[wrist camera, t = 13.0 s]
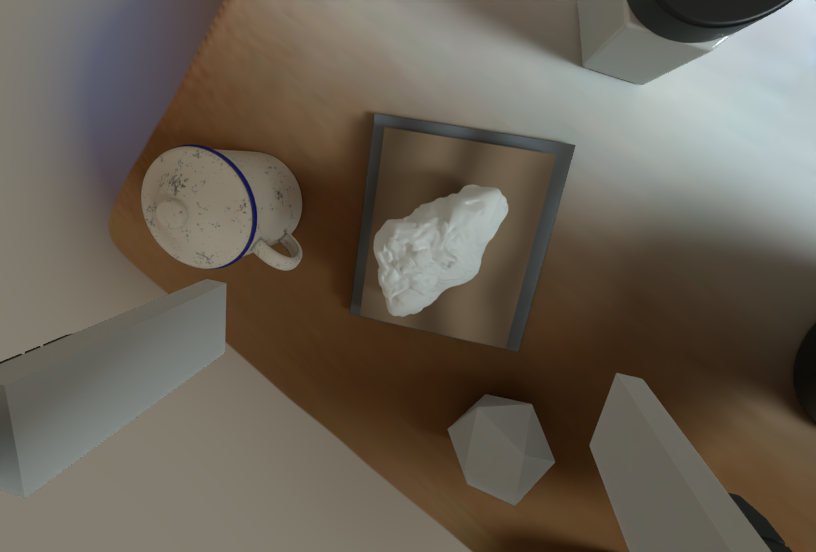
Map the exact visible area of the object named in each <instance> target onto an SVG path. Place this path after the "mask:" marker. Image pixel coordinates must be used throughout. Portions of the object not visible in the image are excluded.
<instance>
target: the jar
mask: <svg viewBox="0 0 816 552" xmlns="http://www.w3.org/2000/svg"><path fill="white" fill-rule="evenodd" d="M791 1H792V0H577V6H578V17H579V29H580V40H581V51H582V63H583V67H585V68H588V69H591V70H594V71H597V72H601V73H604V74H607V75H610V76H613V77H617V78H620V79H623V80H626V81H629V82H632V83H636V84H639V85H644V84H646V83H648V82H650V81H652V80H654V79H656V78H658V77H660V76H662V75H664V74H666V73H669V72H671V71H673V70H675V69H677V68H679V67H681V66H683V65H685V64H687V63H689V62H691V61H693V60H695V59H697V58H699V57H701V56H703V55H705V54H707V53H709V52H711V51H713V50H714V49H716V48H717V47H718V46H719V45H721V44H722V43H723V42H724V41H726V40H727V39H728V38H729V37H731V36H732V35H733V34H734V33H736V32H738V31H739V30H741V29H743V28H745V27H747V26H749V25H751V24H753V23H755V22H757V21H759V20H761V19H763V18H765V17H766V16H768V15H770V14H772V13H774V12H776V11H777V10H779V9H781V8H782V7H784V6H785V5H787V4H788V3H790V2H791Z"/></svg>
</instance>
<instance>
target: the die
mask: <svg viewBox="0 0 816 552" xmlns="http://www.w3.org/2000/svg"><path fill="white" fill-rule="evenodd" d="M447 430H448V432H449V435H450V438H451V441H452V443H453V446H454V449H455V452H456V454H457V457H458V460H459V463H460V465H461V468H462V471H463V474H464V476H465V479H466V482H467V484H468V485H471V486H473V487H475V488H477V489H479V490H481V491H484V492H486V493H488V494H490V495H492V496H495V497H497V498H499V499H501V500H503V501H506V502H508V503H510V504H512V505H514V506H515V505H516V504H517V503H518V502H519V501H520V500H521V499H522V498H523V497H524V495H525V494H526V493H527V492H528V491H529V490H530V489H531V488H532V487H533V486H534V485H535V484H536V482H537V481H538V480H539V479H540V478H541V477H542V476H543V475H544V474H545V473H546V472H547V471H548V470H549V468H550V467H551V466H552V465H553V464H554V463H555V460H554V457H553V455H552V452H551V450H550V447H549V445H548V442H547V440H546V438H545V435H544V433H543V430H542V428H541V425H540V423H539V420H538V418H537V415H536V413H535V410H534V408H533V405H532V404H529V403H524V402H520V401H515V400H511V399H506V398H502V397H497V396H492V395H488V394H485V395H484V396H483V397H482V398H481V399H480V400H479V401H477V402H476V403H475V404H474V405H473V406H472V407H471V408H470V409H469V410H468V411H467V412H465V413H464V414H463V415H462V416H461V417H460V418H459V419H458V420H457V421H456V422H455V423H454V424H452V425H451V426H450V427H449V428H448V429H447Z"/></svg>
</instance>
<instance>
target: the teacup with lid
mask: <svg viewBox="0 0 816 552" xmlns="http://www.w3.org/2000/svg"><path fill="white" fill-rule="evenodd" d="M141 203H142V210H143V214H144V218H145V221H146V223H147V226H148V228H149V230H150V232H151V233H152V235H153V237H154V238H155V240H156V241H157V242H158V243H159V245H160V246H161V247H162V248H163V249H164V250H165V251H166V252H167V253H168V254H170V255H171V256H172V257H174V258H175V259H177V260H179V261H180V262H182V263H185V264H187V265H190V266H193V267H197V268H204V269H218V268H223V267H226V266H229V265H231V264H233V263H234V262H236V261H238V260H239V259H240V258H241V257H243V256H246V255H248V254H251V253H255V254H256V255H257V256H258V257H259V258H260V259H261V260H263V261H264V262H265V263H267V264H268V265H270V266H272V267H274V268H277V269H280V270H285V271H287V270H292V269H294V268H295V267H296V266H297V265H298V264H299V263H300V261H301V259H302V249H301V246H300V245H299V243H298V242H297V240H296V239H295V238H294V237H293V236H292V235H291V234H292V233H293V231H294V230H295V228H296V227H297V225H298V223H299V220H300V217H301V213H302V195H301V191H300V188H299V185H298V182H297V180H296V178H295V177H294V175H293V174H292V172H291V171H290V170H289V169H288V167H287V166H286V165H285V164H284V163H282V162H281V161H280V160H278V159H277V158H275V157H273V156H271V155H269V154H266V153H262V152H252V151H234V150H216V149H211V148H208V147H205V146H200V145H182V146H178V147H175V148H172V149H170V150H168V151H166V152H164V153H163V154H161V155H160V156H159V157H158V158H157V159H156V160H155V161H154V162H153V163H152V164H151V166H150V167H149V169H148V170H147V173H146V175H145V177H144V180H143V184H142V191H141ZM279 242H280V243H281V244H282V245H283V246H284V247H285V248H286V250H287V251H288V252H289V254H290V257H287V256H284V255H282V254H280V253H278V252H276V251H275V250H273V249H272V248H271V247H270V246H271V245H274V244H277V243H279Z"/></svg>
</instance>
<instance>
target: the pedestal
mask: <svg viewBox="0 0 816 552" xmlns="http://www.w3.org/2000/svg"><path fill="white" fill-rule="evenodd" d="M574 149H575V145H572V144H565V143H559V142H553V141H546V140H540V139H533V138H527V137H521V136H514V135H508V134H502V133H495V132H489V131H483V130H476V129H470V128H464V127H457V126H451V125H445V124H438V123H432V122H426V121H419V120H413V119H406V118H400V117H394V116H387V115H381V114H375V115H374V123H373V131H372V139H371V147H370V155H369V163H368V171H367V179H366V187H365V195H364V203H363V212H362V220H361V228H360V236H359V244H358V252H357V260H356V268H355V276H354V284H353V292H352V300H351V308H350V314H352V315H356V316H361V317H365V318H369V319H374V320H378V321H383V322H387V323H391V324H396V325H400V326H405V327H409V328H413V329H418V330H422V331H426V332H431V333H435V334H440V335H444V336H448V337H453V338H457V339H462V340H466V341H470V342H475V343H479V344H484V345H488V346H492V347H497V348H501V349H505V350H510V351H514V352H518V350H519V347H520V343H521V340H522V336H523V332H524V329H525V325H526V322H527V318H528V314H529V311H530V307H531V304H532V300H533V296H534V293H535V289H536V286H537V282H538V278H539V275H540V271H541V268H542V264H543V260H544V257H545V253H546V250H547V246H548V242H549V239H550V235H551V231H552V228H553V224H554V221H555V217H556V213H557V210H558V206H559V203H560V199H561V195H562V192H563V188H564V185H565V181H566V177H567V174H568V170H569V167H570V163H571V159H572V156H573V152H574ZM472 184H473V185H478V186H480V187H494V188H498V189H499V190H500V191H501V194H502V195H503V196H505V198H506V200H507V204H508V213H507V215H506V217H505V218H504V220H503V221H502V222H501V224H500V226H499V228H498V230H497V232H496V233H495V235H494V237H493V238H492V239H491V240H490V241H489V242H488V244H487V245H486V247H485V250H484V253H483V255H482V258H481V265H480V268H479V271H478V273H477V274H476V275H475V276H474V278H473V279H471V280H470V281H468V282H466V283H464V284H461V285H457V286H453V287H450V288H448V289H446V290H445V291H443V292H442V293H441V294H440V295H439V296H438V298H437V299H436V300H435V301H433V303H432V304H430V305H429V306H427V307H424V308H423V309H422V310H421V311H420V312H418V313H416V314H408V315H406V316H403V317H401V316H393V315H391V314H390V313H389V312H388V309H387V305H386V299H385V296H384V295H383V292H382V287H381V286H380V285H379V280H378V268H379V265H378V262H377V259H376V257H375V254H374V249H373V246H374V238H375V235H376V233H377V232H378V231H379V230H380V229H381V227H382V226H383V225H384V224H385V222H386V221H387V220H390V219H403V218H404V217H407V216H410V215H411V214H412V213H413V212H414V210H415V209H416V208H419V207H420V205H422V204H426V203H430V202H433V201H435V200H436V199H437V198H444V197H448V196H449V195H450V194H453V193H454V194H458V193H459V192H460V191H461V190H462V188H463V187H464V186H467V185H472Z"/></svg>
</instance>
